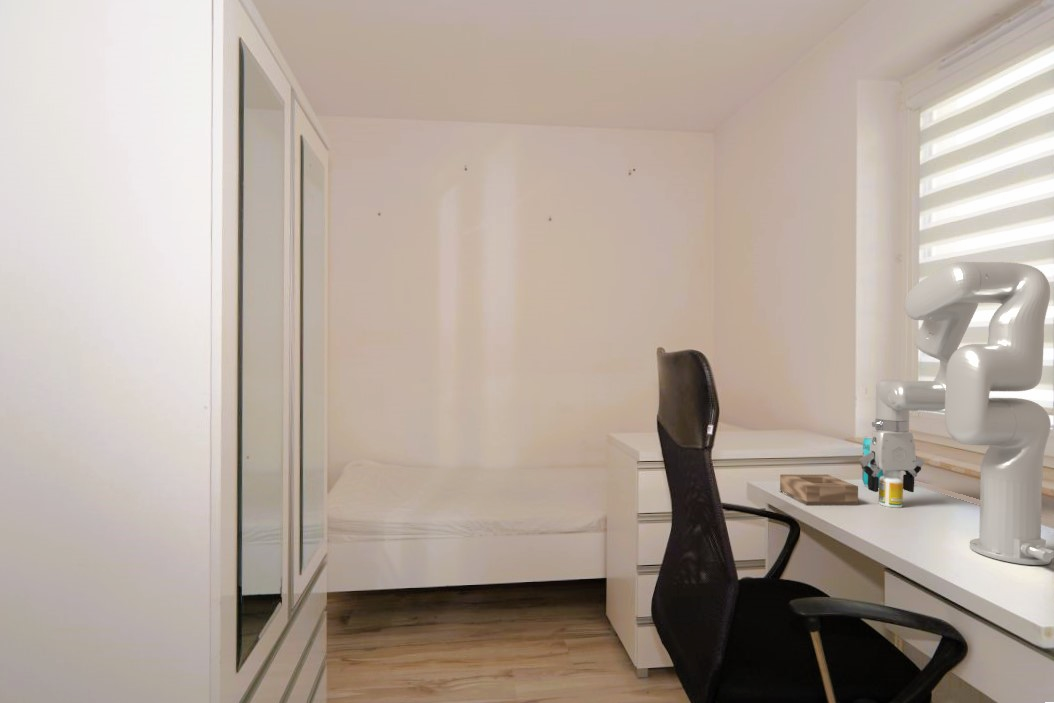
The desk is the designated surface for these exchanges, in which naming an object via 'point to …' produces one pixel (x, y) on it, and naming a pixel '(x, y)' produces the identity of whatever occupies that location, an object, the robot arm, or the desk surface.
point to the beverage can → (866, 451)
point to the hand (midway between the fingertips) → (890, 490)
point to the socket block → (819, 489)
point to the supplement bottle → (891, 489)
